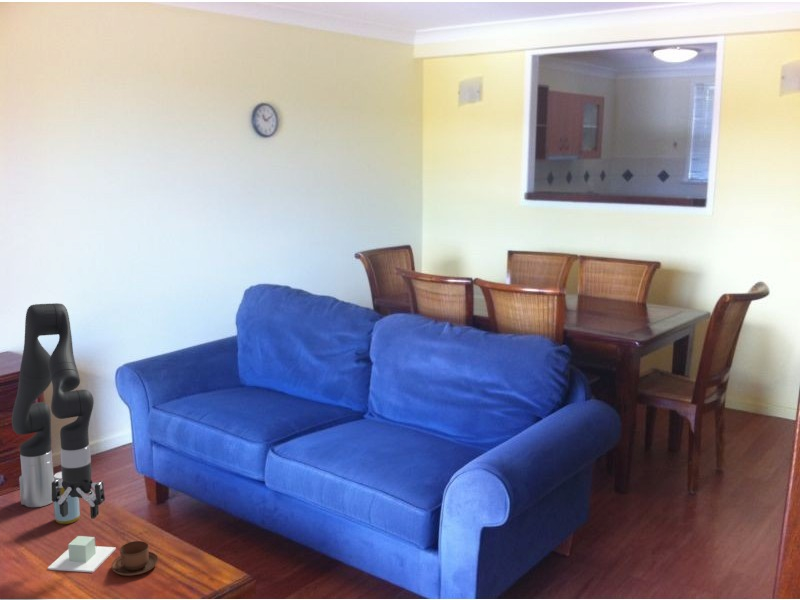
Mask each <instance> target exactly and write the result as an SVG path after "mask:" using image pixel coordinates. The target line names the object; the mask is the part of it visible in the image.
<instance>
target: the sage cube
mask: <svg viewBox="0 0 800 600" xmlns="http://www.w3.org/2000/svg"><path fill="white" fill-rule="evenodd" d="M67 546H68V549H69V561H74V562H87V561H88V560H89V559H91V558H92V557H93V556H94V555H95V554H96V549H95V546H96V538H95V536H86V535H77V536H76V537H75V538H74V539H73V540H72V541H70V543H68V545H67Z"/></svg>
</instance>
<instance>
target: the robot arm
mask: <svg viewBox="0 0 800 600" xmlns="http://www.w3.org/2000/svg"><path fill="white" fill-rule="evenodd" d="M25 313H26V314H25V319H24V320H25V321H24V323H25V324H24V341H23V350H22V357H21V362H20V367H19V374H18V375H19V377H18V385H17V386H18V388H17V393H16V397H15V401H14V405H13V408H12V412H11V413H12V414H11V426H12V430H13V431H14V433H15V434H17V435H20V436H21V435H22V436H23V435H29V434H33V436H31V437H29V438H28V439H27V440H25V441H24V442H22V443H21V444H20V445H19V456H20V466H21V467H20V468H21V469H20V470H21V475H20V476H19V478H18V482H19V492H20V503H21V505H24V506H25V507H27V508H41V507H44V506H47V505H50V504H52V503H54V502H58V504H59V507H60V514H61V515H62V517H65V516H66V515H68V502H67V501H66V500H67V499H68V497H69V496H71V497H78V498H79V499H82V498H83V499H84V501H85V502H87V503H88V504H89V507H90V509H89V510H90V511H89V512H90V519H91V520H95V519H96V518H97V517H98V516H99V513H100V511H99V509H100V508H99V506H100V505H102V504H103V502H105V501H106V497H105V496H106V495H105V488H104V481H103V480H100V481H98V482H93V480H92V475H93V474H92V458H91V457H92V456H91V449H90V439H89V428H90V427H89V425H90V420H91V416H92V413H93V409H94V403H95V402H94V401H95V400H94V397H93V394H92V393H91V392H90V391H89V390H88V389H77V388H78V387H79V386H80V383H81V378H80V375H79V371H78V368H77V364H76V361H75V360H76V359H75V355H74V349H73V338H72V328H71V322H70V321H71V320H70V316H69V312H68V309H67V307H66V306H65V305H64V304H63V303H56V302H55V303H35V304H31V305H29V306H28V307H27V309H26V312H25ZM53 335H54V336H55V335H58V336H59V338H58V341H57V343H56V346H55V348H54V349H53V350H52V353H51V355H50V353H49V352H48V351H47V350H46V349H45V348H44V347H43V345H42V343H41V342H40V340H39V337H42V336H53ZM50 385H52V396H51V397H52V398H51V403H50V407H49V405H48V404H47V403H46V401H40V402H35V401H36V400H38V399H39V397H40V396H41V395H42V394H43V393H44V392H45V391H46V390H47V389H48V388H49V386H50ZM75 389H77V390H75ZM50 409H51V410H50ZM51 413H52V414H51ZM51 415H53V416H54V417H55V418H57V419H59V420H62V419H63V420H64V419H70V418H76V419H75V420H74V421H72V422H71V423H67V424H65V425H63V426H62V427H61V428H60V431H59V435H60V437H59V438H60V439H59V440H60V465H61V467H60V468H61V471H62V479H63V481H62V480H60V479H59V478H57V479H56V480H54V466H53V465H54V463H53V454H52V451H53V450H52V416H51ZM61 486H62V487H63V488H64V489H65V492H64V494H63V495H62V496H61Z"/></svg>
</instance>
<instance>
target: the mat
mask: <svg viewBox="0 0 800 600" xmlns="http://www.w3.org/2000/svg"><path fill="white" fill-rule="evenodd" d="M95 549H96V554H95V555H94V556H93V557H92V558H91V559H89V560H88V561H87V562H74V561H69V548H68V549H67V550H65V551H64V552H63V553H62V554H61V555H60V556H59V557H58V558H57V559H55V561H53V562H52V563H51V564H50V565H49V566H48V567H47V570H52V571H65V572H67V571H68V572H77V573H78V572H79V573H81V572H82V573H91V574H92V573H94V572H95V571H96V570H97V569H98V568H99V567H100V566H101V565H102V564H103V563H104V562H105V561H106V560H107V559H108V558H109V557H110V555H112V554H113V553H114V552H115V550H116V549H117V547H116V546H115V547H114V546H102V545H101V546H100V545H99V546H98V545H95Z"/></svg>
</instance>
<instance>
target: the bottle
mask: <svg viewBox="0 0 800 600" xmlns="http://www.w3.org/2000/svg"><path fill="white" fill-rule="evenodd" d="M53 476H54V480H56V479H57V478H59V479H60V480H62V481H63V479H62V470H61V471H58V472H56V473H54V474H53ZM64 492H65V489H64V488H63V487H62V486H61V496H62V495H63V494H64ZM66 501H67V502H68V515H66V516H65V517H62V515H61V514H60V507H59V504H58V502H53V506H54V518H55V522H56V523H57V524H59V525H69V524H73V523H75V522H77V521H78V520H79V519H80V517H81V515H80V514H81V513H80V511H81V510H80V498H78V497H71V496H69V497H68V499H67V500H66Z"/></svg>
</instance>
